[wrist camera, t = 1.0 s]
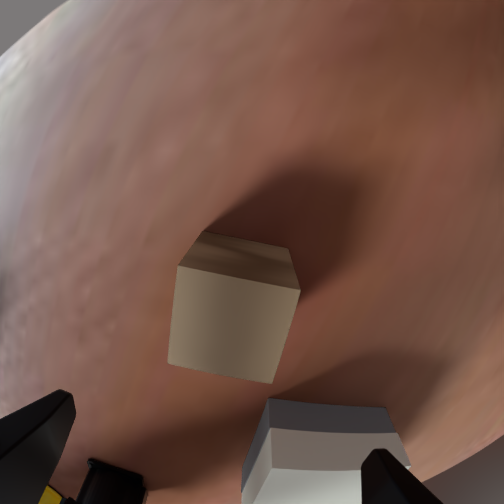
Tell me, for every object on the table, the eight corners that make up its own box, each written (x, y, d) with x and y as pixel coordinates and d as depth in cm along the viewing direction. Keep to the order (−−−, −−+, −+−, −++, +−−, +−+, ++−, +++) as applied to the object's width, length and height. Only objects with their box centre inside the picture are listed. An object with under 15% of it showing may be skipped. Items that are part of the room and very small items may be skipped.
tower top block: (242, 492, 22) (240, 524, 18) (270, 427, 19) (272, 467, 15) (346, 495, 22) (352, 524, 19) (397, 432, 19) (411, 465, 16)
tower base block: (242, 463, 25) (241, 492, 22) (268, 394, 22) (269, 428, 19) (339, 470, 25) (345, 496, 22) (384, 404, 23) (396, 433, 19)
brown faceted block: (190, 306, 20) (167, 363, 14) (202, 230, 18) (177, 265, 12) (268, 322, 20) (271, 383, 14) (287, 248, 18) (300, 290, 13)
